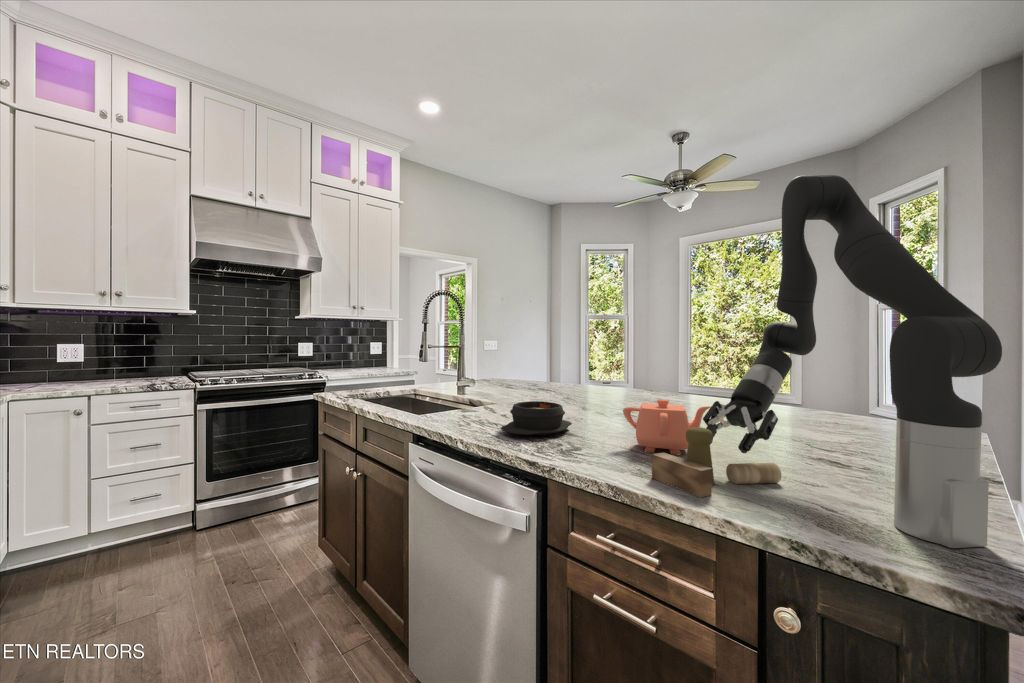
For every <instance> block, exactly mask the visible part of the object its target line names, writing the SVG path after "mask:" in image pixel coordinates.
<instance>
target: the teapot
mask: <svg viewBox="0 0 1024 683" xmlns="http://www.w3.org/2000/svg"><path fill="white" fill-rule="evenodd" d="M669 402H670V400H668V399H656V403H645V402H643V403H641V404H640V407H634V406H627V407H624V408H623V409H622V412H623V415H624V418H625V419H626V420H627V422H628V423H629V424H630V425H631V426H632V427H633V428H634V429H635V438H636V441H637V444H638V446H640V447H645V448H644V450H643V452H645V451H646V452H645V453H649V452H653V453H656V452H655V451H656V449H667V450H669V453H670V454H671V453H672V454H671V455H673V454H681V455H682V453H681V450H686V451H687V449H688V442H687V440H686V431H687V430H688V429H689V428H692V427H701V424H702V420H703V417H704V416H703V415H704V413H705V412H706V411H708V410H709V409H710V408H711V406H712V405H711V406H710V405H709V406H706V405H705V406H700V407H699V408H698V409H697V410H696V413H695V416H694V419H692V421H691V422H689V418H688V413H687V410H686V408H685V407H684V405H678V404H669ZM632 412H638V415H637V420H636V422H635V420H634V419H633V416H632V414H631V413H632Z"/></svg>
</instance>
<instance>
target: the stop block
mask: <svg viewBox="0 0 1024 683" xmlns="http://www.w3.org/2000/svg"><path fill="white" fill-rule="evenodd" d="M651 454H652V456H651V457H652V458H651V479H653V478H654V479H653V480H655V479H656V481H658V482H660V481H661V483H663V484H665V483H666V484H665V485H668V484H669V485H668V486H670V485H672V486H671V487H673V486H674V487H673V488H675V487H677V488H676V489H678V488H679V489H678V490H680V489H682V490H681V491H683V490H684V491H683V492H685V491H687V492H686V493H688V492H689V493H688V494H690V493H691V494H690V495H693V496H695V495H696V496H695V497H698V498H705V497H704V496H706V497H709V495H710V496H712V489H713V488H712V486H713V485H712V473H713V474H714V467H713V468H710V467H707V466H704V465H701V464H698V463H695V462H692V461H688V460H686V458H682V457H679V456H677V455H673V454H671V453H670V454H669V453H666V452H659V453H651Z"/></svg>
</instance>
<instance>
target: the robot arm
mask: <svg viewBox="0 0 1024 683" xmlns="http://www.w3.org/2000/svg"><path fill="white" fill-rule="evenodd" d="M781 203H782V204H781V258H782V259H781V262H782V263H781V275H780V282H779V289H778V294H777V300H776V308H777V310H778V311H779V312H781V313H783V314H785V315H788V316H791V317H792V318H793V319H794V320H795V322H796V323H793V322H786V321H779V320H778V321H772V322H770V323H769V324H768V325H766V327H765V328H764V330H763V335H762V342H761V345H760V349H759V352H758V355H757V356H756V358H755V359H754V361H753V363H752V364H751V366H750V367H749V369H748V370H747V371H746V372H745V373H744V374H743V376H742V378H741V380H740V381H739V383H738V384H737V385H736V387H735V389H734V390H733V392H732V394H731V397H730V401H729V402H728V403H727V404H722V403H720V401H719V400H717V401H716V400H715V401H714V402H713V403H712V405H711V408H709V409H708V410H707V412H706V413H705V415H704V416H702V421H703V422H704V423H705V424H706V427H705V428H706V429H709V430H710V431H711V432H712V434H713V438H714V437H715V436H716V434H717V433H718V431H719V430H721V429H723V428H728V427H730V426H734V427H740V428H744V429H746V428H747V432H748V433H747V432H746V433H745V434H744V435H743V437H742V439H741V441H740V443H738V444H739V445H738V448H737V449H738V450H739V451H740V452H741V453H742V454H747V453H749V451H751V450H752V448H753V447H754V444H755V443H756V441H759V439H761V440H762V439H763V440H764V441H767V440H768V441H769V439H770V437H771V435H772V434H773V432H774V429H775V426H776V425H777V423H778V421H779V418H778V416H777V415H776V414H777V413H776V412H774V410H773V409H770V407H771V405H772V404H773V402H774V401H775V398H776V396H777V395H778V393H779V392H780V389H781V388H782V384H783V382H784V380H785V379H786V377H787V376H788V374H789V372H790V370H791V368H792V365H793V361H792V360H793V359H792V358H791V357H790V355H788V354H792V355H796V356H806V355H808V354H810V353H811V352H812V351H813V350H814V348H815V346H816V343H817V331H816V326H815V320H814V301H815V296H816V291H817V290H816V289H817V286H818V272H817V268H816V266H815V263H814V261H813V259H812V256H811V254H810V252H809V250H808V247H807V244H806V240H805V228H806V222H807V221H825V222H827V223H828V224H829V225H831V226H832V227H833V229H834V230H835V231H836V233H837V234H838V236H837V239H836V241H835V245H834V248H833V249H834V251H833V255H834V257H833V258H834V260H835V263H836V265H837V266H838V268H839V269H840V271H841V272H842V273H843V275H845V277H846V278H847V279H848V281H849V282H850V283H851V284H852V285H853V287H855V288H856V289H857V290H859V291H860V292H862V293H863V294H864V295H866V296H869V297H870V298H871V299H873V300H875V301H876V302H877V301H878V302H879V303H881V304H883V305H885V306H887V307H888V308H891V309H892V310H894V311H896V312H898V313H899V314H900V315H902V316H903V317H904V318H906V319H905V320H903V321H902V322H900V323H899V324H898V325H897V326H896V328H895V329H894V331H893V333H892V336H891V339H890V344H889V372H890V394H891V397H892V400H893V402H894V406H895V408H896V426H895V428H896V429H895V433H896V434H895V456H894V457H895V463H894V464H895V466H894V498H893V499H894V502H893V503H894V505H893V508H894V509H893V525H894V526H895V527H896V529H898V530H900V531H901V532H904V533H905V534H908V535H909V536H912V537H915V538H918V539H920V540H924V541H927V542H931V543H935V544H939V545H942V546H945V547H947V548H949V549H962V548H963V549H964V548H978V547H980V548H981V547H983V548H984V547H988V527H989V526H988V525H989V524H988V523H989V495H990V494H989V490H990V489H989V488H990V486H989V485H990V483H989V481H988V480H986V479H984V478H982V477H981V461H982V460H981V459H982V458H981V457H982V456H981V455H982V428H983V427H982V426H983V412H982V409H981V407H979V406H978V405H977V404H974V403H971V402H970V401H966V400H964V399H963V398H961V397H960V396H959V395H957V394H956V392H955V390H954V388H953V387H954V386H953V385H954V384H953V378H970V377H971V378H972V377H976V376H977V377H978V376H982V375H986V374H988V373H991V372H993V371H994V370H995V369H996V368H997V366H998V365H999V364H1000V362H1001V360H1002V356H1003V345H1002V342H1001V340H1000V337H999V335H998V333H997V332H996V330H995V329H994V328H993V327H992V326H991V325H990V324H989V323H988V322H987V321H986V320H985V319H984V318H982V317H981V316H980V315H979V314H977V312H975V311H974V310H972V309H971V308H970V307H969V306H967V305H966V304H964V303H963V302H962V301H961V300H959V299H958V298H957V297H956V296H954V295H953V294H952V293H951V292H950V291H948V290H947V289H946V288H945V287H943V286H942V284H941V283H939V282H938V280H936V278H935V277H934V276H933V275H932V274H931V273H930V272H929V271H928V270H927V269H926V268H925V267H923V265H922V264H921V263H920V262H919V261H917V259H915V257H913V255H912V254H911V252H909V250H908V249H907V248H906V247H905V246H904V245H903V244H902V243H901V242H900V241H899V240H898V239H897V238H896V237H895V236H894V235H893V234H892V233H891V232H890V231H889V230H887V228H885V226H883V225H882V223H881V222H880V221H879V220H878V218H876V217H875V215H874V214H873V213H872V212H871V211H870V210H869V208H867V206H866V204H865V203H864V202H863V201H862V199H861V198H860V196H859V195H858V193H857V192H856V190H855V189H854V187H853V186H852V184H851V183H850V182H849V181H848V180H847V179H845V177H842V176H840V175H837V174H836V175H835V174H820V175H819V174H815V175H814V174H811V175H808V174H806V175H805V174H804V175H799V176H796V177H794V178H792V180H790V181H789V183H788V184H787V186H786V187H785V190H784V193H783V197H782V202H781ZM724 418H726V420H724ZM761 420H762V421H761ZM760 421H761V424H760V426H759V428H758V427H757V424H756V423H758V422H760Z"/></svg>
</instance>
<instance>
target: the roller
mask: <svg viewBox="0 0 1024 683" xmlns="http://www.w3.org/2000/svg"><path fill="white" fill-rule="evenodd" d="M725 473H726V475H725V476H726V477H727V480H728V482H730V483H731V482H732V483H731V484H733V483H734V484H733V485H749V484H752V485H753V484H777V483H780V481H782V470H781V468H780V467H779V465H778V464H777V463H775V462H752V463H751V462H747V463H746V462H745V463H739V462H738V463H728V464H727V466H726V469H725Z"/></svg>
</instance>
